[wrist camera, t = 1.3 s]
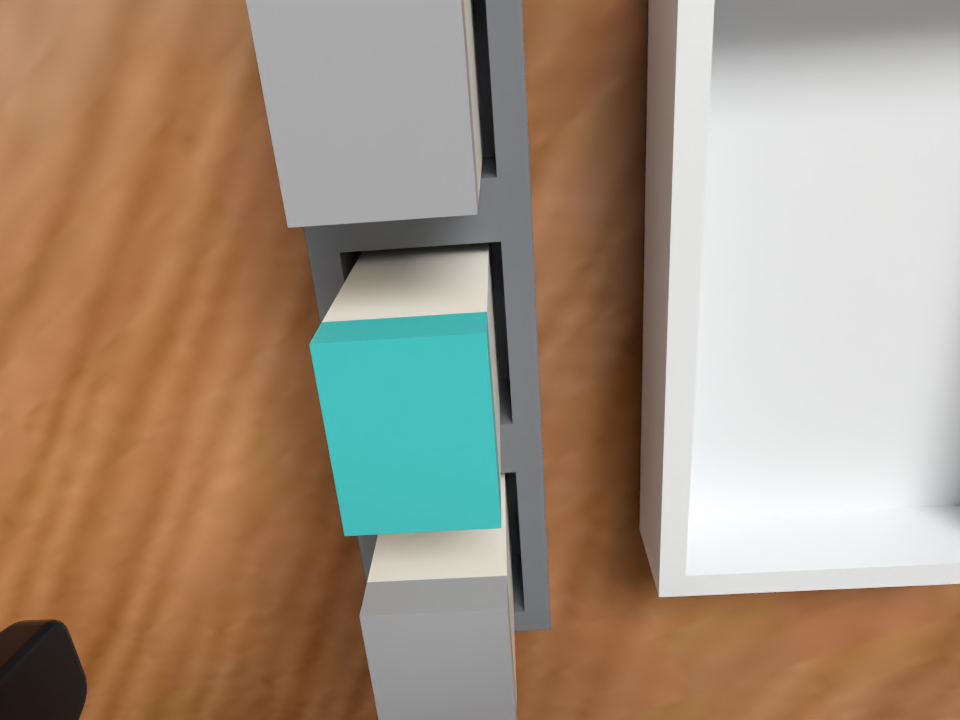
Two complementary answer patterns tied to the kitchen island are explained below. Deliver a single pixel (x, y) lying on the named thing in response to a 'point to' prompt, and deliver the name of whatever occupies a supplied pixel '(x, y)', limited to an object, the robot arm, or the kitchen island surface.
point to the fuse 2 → (442, 624)
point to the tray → (801, 296)
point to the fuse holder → (513, 284)
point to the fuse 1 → (371, 107)
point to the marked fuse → (413, 391)
